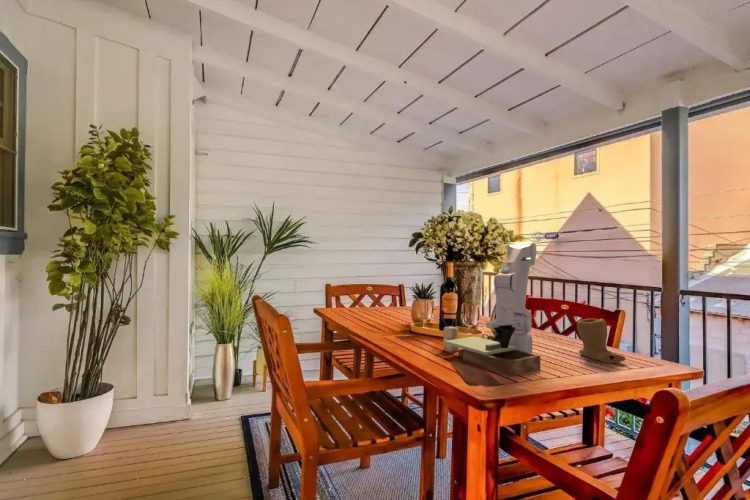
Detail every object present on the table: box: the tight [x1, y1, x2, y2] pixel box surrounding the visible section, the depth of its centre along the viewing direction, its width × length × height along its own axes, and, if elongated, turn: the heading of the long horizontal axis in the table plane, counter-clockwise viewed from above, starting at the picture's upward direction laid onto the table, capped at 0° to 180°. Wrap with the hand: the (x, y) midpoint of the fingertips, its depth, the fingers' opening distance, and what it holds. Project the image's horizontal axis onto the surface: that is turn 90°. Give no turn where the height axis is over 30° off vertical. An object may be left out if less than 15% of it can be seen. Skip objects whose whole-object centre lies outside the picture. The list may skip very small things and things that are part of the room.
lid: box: [445, 335, 517, 355], centre depth 149 cm, size 16×20×3 cm
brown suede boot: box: [576, 318, 627, 364], centre depth 151 cm, size 15×12×15 cm
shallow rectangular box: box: [457, 348, 541, 377], centre depth 144 cm, size 16×27×4 cm, turn 33°
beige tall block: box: [443, 325, 459, 353], centre depth 162 cm, size 4×4×9 cm
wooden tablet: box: [450, 360, 501, 387], centre depth 132 cm, size 27×10×2 cm, turn 3°
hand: (504, 347), depth 140 cm, fingers closed
